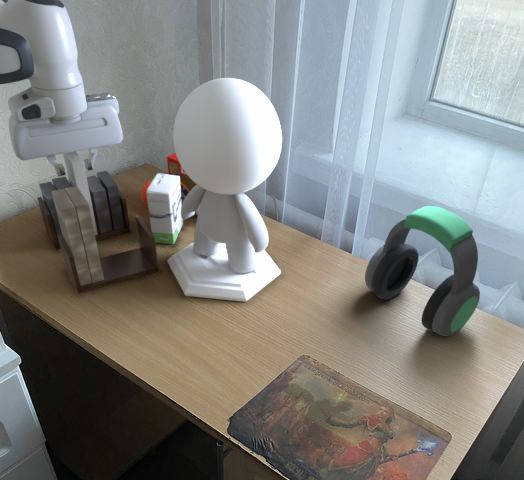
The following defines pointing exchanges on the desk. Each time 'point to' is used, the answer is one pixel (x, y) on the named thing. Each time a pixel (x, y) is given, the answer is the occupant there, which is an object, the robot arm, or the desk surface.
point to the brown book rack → (85, 246)
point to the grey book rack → (103, 202)
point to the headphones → (406, 259)
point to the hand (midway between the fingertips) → (75, 171)
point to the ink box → (165, 207)
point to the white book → (79, 179)
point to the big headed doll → (225, 188)
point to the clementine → (143, 193)
